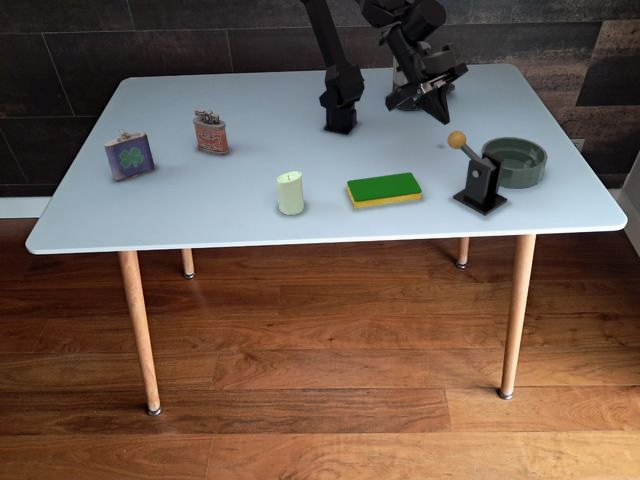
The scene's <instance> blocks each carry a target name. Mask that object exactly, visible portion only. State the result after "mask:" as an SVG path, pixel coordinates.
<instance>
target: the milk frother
mask: <svg viewBox="0 0 640 480" xmlns="http://www.w3.org/2000/svg"><path fill="white" fill-rule="evenodd" d="M421 43H422V45H423V47H424V49H426V48H430V49H431V50H432V47H431V45H430V44H429V43H428V42H425V41H423V42H421ZM392 59H393V61H392V62H393V63H392V87H391V92H393V91H394V90H395V89H396V88H397V87H400V86H402V85H404V84H406V83H408V81H407V79H406V78H405V76H404V74H403V72H402V71H401V72H399V73H398V72H397V70H396V68H397V67H398V66H399V65H398V63H397V61H396V59H395V57H394V56H393V58H392ZM455 90H456V84H453V83H451V85H449V87H448V90H447V95H448V94H450V93H451V92H453V91H455ZM413 102H414V100H413V96H412V97H410V98H408V99H406V100H405V101H403V102H402V103H401V106H400V107H399V108H397V110H401V111H416V110H421V109H420V108H418V107H416V106H415V105H414V106H411V103H413Z"/></svg>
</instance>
